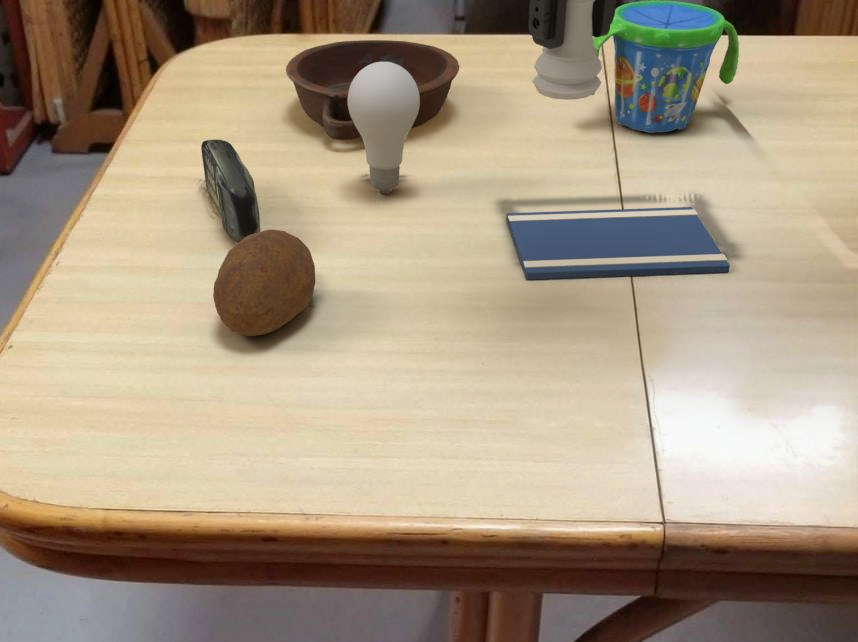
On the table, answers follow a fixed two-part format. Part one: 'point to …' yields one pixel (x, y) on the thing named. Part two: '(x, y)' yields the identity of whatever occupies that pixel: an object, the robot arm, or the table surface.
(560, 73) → the rook chess piece
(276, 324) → the potato
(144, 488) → the table surface
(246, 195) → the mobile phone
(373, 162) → the lightbulb
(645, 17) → the snack cup
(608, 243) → the towel
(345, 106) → the dish
